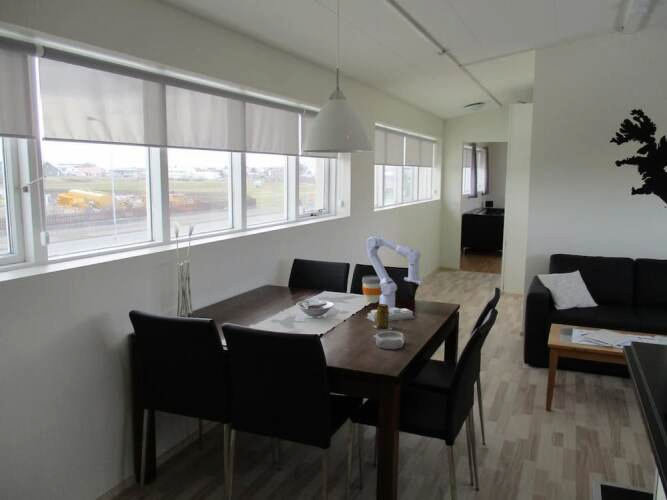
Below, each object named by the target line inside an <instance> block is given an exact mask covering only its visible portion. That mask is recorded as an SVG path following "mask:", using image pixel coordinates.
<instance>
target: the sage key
mask: <svg viewBox="0 0 667 500" xmlns="http://www.w3.org/2000/svg"><path fill="white" fill-rule="evenodd" d="M377 310H378V309H371V310H370V313H371V314H372V315H374V316H377Z"/></svg>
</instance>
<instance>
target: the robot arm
mask: <svg viewBox="0 0 667 500" xmlns="http://www.w3.org/2000/svg"><path fill="white" fill-rule="evenodd" d="M365 245H366V254H367V256H368V259H369V261H370V263H371V265H372V267H373V269H374V270H375V273H376V276H378V277H379V279H380V286H381V294H380V298H379V302H378V305H379V304H387V305H388V311H390V308H396V291H397V290H398V286H397V284H396V282H395V281H394V280H393V279H392V278H391V277H389V274H388V273H387V270H386V269H385V267H384V265H383V262H382V261H381V259H380V257H379V254H378V251H379V249H380V248H381V247H382V246H384V247H386V248H389V249H391V250H394V251H396V254H397V255H399V256H402V257H404V258H406V259H407V260H408V269H407V270H408V274H407V275H408V276H405V277H403V280H404V281H405V282H406V284H407V286H408V289H409V292H410V296H416V294H417V290H418V288H419V286H423V284H424V281H423V280H421V279H419V273H420V272H419V267H420V258H421V252H420V250H417V249H413V248H412V247H411V248H410V247H408V246H406V244H400V245H399V244H396V243H395V242H393V241H392V240H389V239H387V238H385V237H384V236H381V235H375V236H369V237H368V238H367V239H366V242H365Z"/></svg>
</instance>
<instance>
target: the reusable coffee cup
mask: <svg viewBox="0 0 667 500" xmlns="http://www.w3.org/2000/svg"><path fill="white" fill-rule="evenodd" d="M361 283H362V286H361V287H362V294H363V299H364V302H365V301H366V302H365V303H367V302H371V303H370V304H377V302H378V303H380V295H381V294H382V291H381V286H380V279H379V277H378V275H364V276H362V279H361Z"/></svg>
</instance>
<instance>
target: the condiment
mask: <svg viewBox="0 0 667 500" xmlns="http://www.w3.org/2000/svg"><path fill="white" fill-rule="evenodd" d="M376 310H377V323H375V324H376V325H372V327H373V328H375V329H378V330H379V331H392V330H393V328H392V327H390V326H389V321H388V320H389V319H388V318H389V311H388V305H387V304H379V303H378V304H377V309H376Z"/></svg>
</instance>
